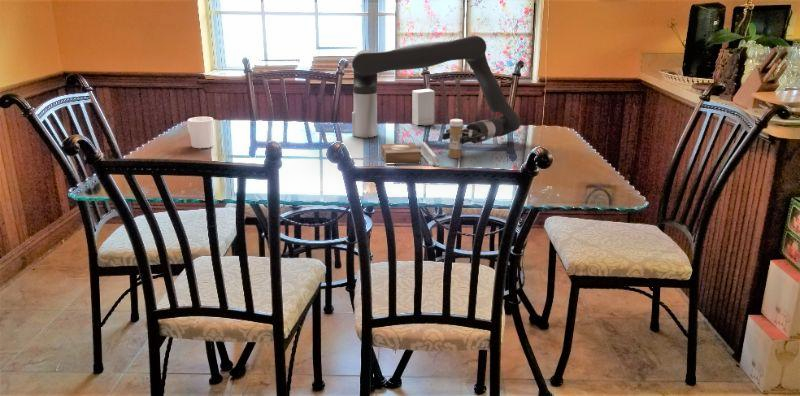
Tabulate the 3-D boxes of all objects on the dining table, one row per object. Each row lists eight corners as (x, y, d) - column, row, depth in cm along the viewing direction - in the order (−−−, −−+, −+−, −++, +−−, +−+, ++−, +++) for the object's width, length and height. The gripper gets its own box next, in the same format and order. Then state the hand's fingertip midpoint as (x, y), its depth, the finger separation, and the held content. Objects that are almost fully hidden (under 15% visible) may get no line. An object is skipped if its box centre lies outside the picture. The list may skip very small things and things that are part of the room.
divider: (418, 150, 233) (418, 141, 231) (426, 150, 233) (426, 141, 232) (430, 166, 214) (430, 156, 213) (438, 165, 214) (438, 155, 213)
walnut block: (381, 155, 226) (381, 143, 225) (414, 154, 228) (414, 142, 227) (386, 164, 215) (386, 152, 214) (420, 163, 217) (421, 151, 216)
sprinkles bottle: (446, 157, 225) (447, 119, 220) (453, 154, 228) (455, 117, 224) (456, 159, 222) (458, 121, 218) (464, 156, 225) (465, 119, 221)
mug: (220, 145, 238) (218, 118, 235) (204, 150, 230) (201, 122, 227) (197, 141, 242) (195, 115, 239) (181, 147, 235) (178, 119, 231)
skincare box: (428, 122, 278) (428, 88, 273) (434, 124, 273) (435, 90, 268) (411, 123, 275) (411, 89, 270) (417, 126, 270) (418, 91, 265)
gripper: (465, 118, 236) (436, 125, 225) (497, 124, 227) (468, 131, 215) (464, 137, 238) (436, 145, 227) (495, 144, 229) (467, 153, 218)
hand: (452, 138), depth 221 cm, fingers open, 7 cm apart
